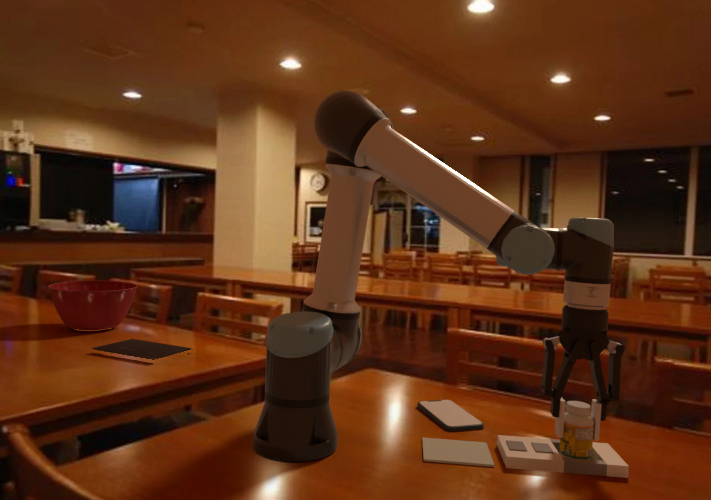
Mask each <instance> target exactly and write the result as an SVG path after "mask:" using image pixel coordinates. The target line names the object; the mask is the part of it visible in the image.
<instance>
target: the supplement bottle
mask: <svg viewBox="0 0 711 500" xmlns="http://www.w3.org/2000/svg"><path fill="white" fill-rule="evenodd" d="M591 407H592V405H590V404H589V403H587V402H584V401H579V400H568V401H566V403H565V417H564V432H563V438H559V440H560V449H559V454H560V455H561V457H562V458H575V459H587V460H592V445H593V442H594V439H593V430H594V421H593V419H592V418H591Z"/></svg>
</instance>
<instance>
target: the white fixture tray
mask: <svg viewBox="0 0 711 500" xmlns="http://www.w3.org/2000/svg"><path fill="white" fill-rule="evenodd" d="M496 442H497V443H496V447H497V449H498V451H499V453H500V456H501V458H502V461H503V464H504V466H505V468H506V469H513V470H514V469H516V470H523V471H524V470H525V471H539V472H550V473H564V474H575V475H584V476H585V475H587V476H598V477H612V478H613V477H614V478H615V477H616V478H623V479H624V478H625V479H628V478H629V470H630V469H629V468H630V466H629V465H628V463H626V461H624V459H623V458H622V457H621V456H620V455H619V453H617V451H616V450H615V449H613V447H612V446H611V445H610V444H609V443H607V442H598V441H596V442H595V441H593V445H592V458H591V460H587V459H575V458H562V457H561V455H560V454H559V449H560V439H553V438H543V437H542V438H541V437H530V436H529V437H527V436H516V435H505V434H503V435H502V434H501V435H500V434H497V441H496Z"/></svg>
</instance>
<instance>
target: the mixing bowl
mask: <svg viewBox="0 0 711 500" xmlns="http://www.w3.org/2000/svg"><path fill="white" fill-rule="evenodd" d="M138 287H139V285H138V284H136V283H132V282H126V281H117V280H73V281H72V280H70V281H62V282H61V281H60V282H55V283H51V284H49V285H48V286H47V288H48V289H49V293H50V297H51V300H52V303H53V305H54V307H55V311H56V313H57V315H58V316H59V318H60V320H61V321H62V323H63V324H64V325H65V326H67V328H69V329H71V328H72V329H79V330H100V329H108V328H113V327H114V328H116V327H118V326H119V325H120V324H121V323H122V322H123V321H124V320H125V318H126V316H127V314H128V312H129V311H130V309H131V307H132V304H133V301H134V299H135V295H136V291H137V288H138ZM114 328H113V329H114ZM72 329H71V330H72Z"/></svg>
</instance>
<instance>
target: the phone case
mask: <svg viewBox="0 0 711 500" xmlns="http://www.w3.org/2000/svg"><path fill="white" fill-rule="evenodd" d="M417 409H419V410H420V411H421V412H423V414H425V415H426V416H427V417H428V418H430V420H432V421H433V422H434V423H436V424H437V425H438V426H440V427H441V428H443V430H444V431H448V432H463V431H464V432H465V431H476V430H477V431H478V430H483V429H484V427H485V424H484V422H482V421H481V420H480V419H478V418H477V417H475V415H473V414H471V413H470V412H469V411H467V410H465V409H464V408H463V407H462V406H460V405H459V404H457V403H456V402H454V401H453V400H451V399H436V400H435V399H433V400H420V401H417Z"/></svg>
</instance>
